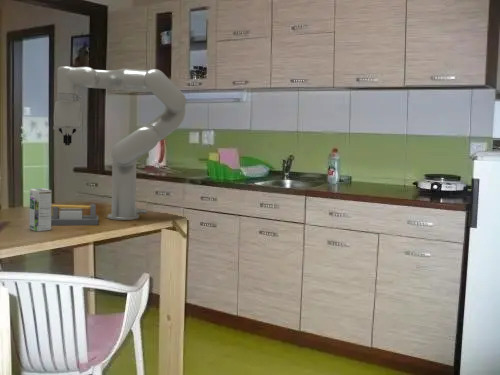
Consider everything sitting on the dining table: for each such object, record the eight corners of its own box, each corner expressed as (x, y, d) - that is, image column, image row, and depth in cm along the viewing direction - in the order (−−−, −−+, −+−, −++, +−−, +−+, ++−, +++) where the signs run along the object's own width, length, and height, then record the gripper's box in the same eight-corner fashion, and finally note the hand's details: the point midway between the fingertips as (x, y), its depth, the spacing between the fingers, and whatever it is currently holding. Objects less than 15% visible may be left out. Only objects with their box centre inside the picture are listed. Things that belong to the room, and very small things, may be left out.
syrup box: (28, 229, 190) (28, 188, 189) (45, 227, 194) (45, 187, 193) (35, 231, 186) (35, 190, 185) (52, 230, 190) (52, 189, 189)
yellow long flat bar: (94, 208, 208) (94, 205, 208) (94, 209, 205) (94, 206, 205) (52, 207, 204) (52, 204, 204) (51, 208, 201) (51, 205, 201)
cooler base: (98, 220, 213) (98, 202, 212) (98, 225, 203) (98, 206, 202) (50, 220, 208) (50, 202, 207) (47, 225, 198) (47, 206, 197)
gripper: (87, 100, 216) (87, 145, 218) (48, 97, 212) (48, 144, 214) (87, 99, 209) (86, 146, 211) (46, 97, 205) (46, 145, 207)
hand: (67, 145), depth 213 cm, fingers closed
